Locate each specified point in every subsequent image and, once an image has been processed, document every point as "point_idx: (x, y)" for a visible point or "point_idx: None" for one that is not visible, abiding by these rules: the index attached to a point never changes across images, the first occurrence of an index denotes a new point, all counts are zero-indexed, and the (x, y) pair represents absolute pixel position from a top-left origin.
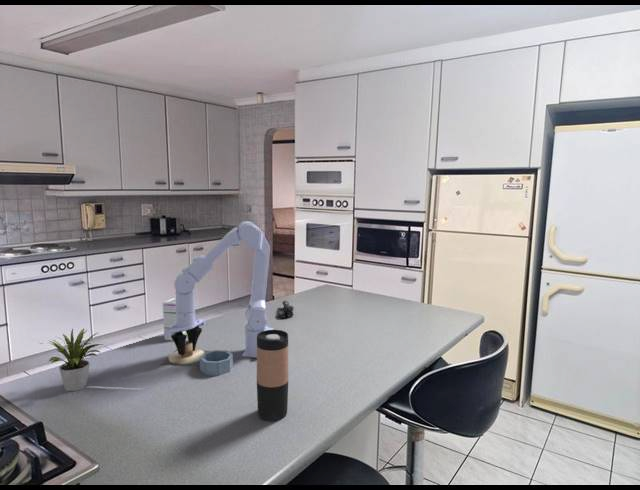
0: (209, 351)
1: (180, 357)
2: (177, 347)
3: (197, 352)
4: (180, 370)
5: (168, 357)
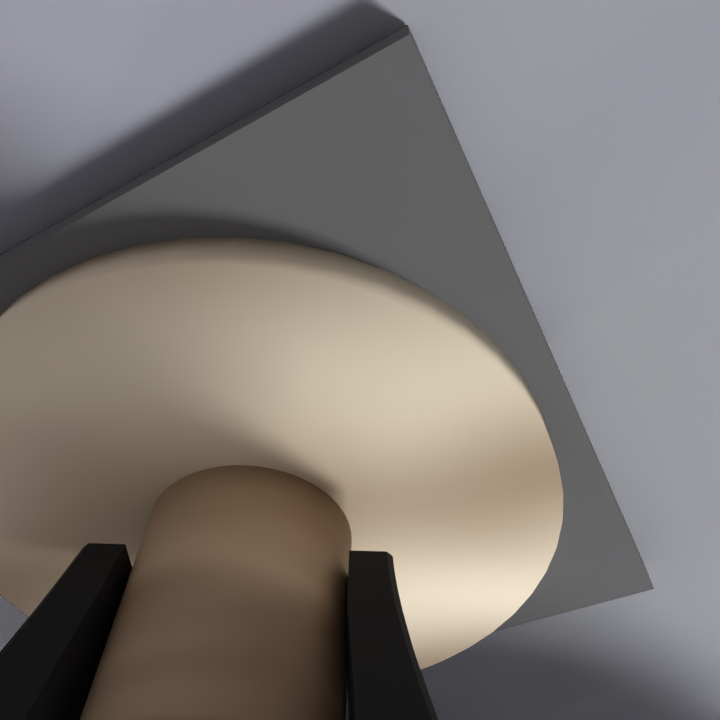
0: (624, 581)
1: (120, 526)
2: (9, 672)
3: (433, 578)
4: (9, 612)
5: (10, 271)
